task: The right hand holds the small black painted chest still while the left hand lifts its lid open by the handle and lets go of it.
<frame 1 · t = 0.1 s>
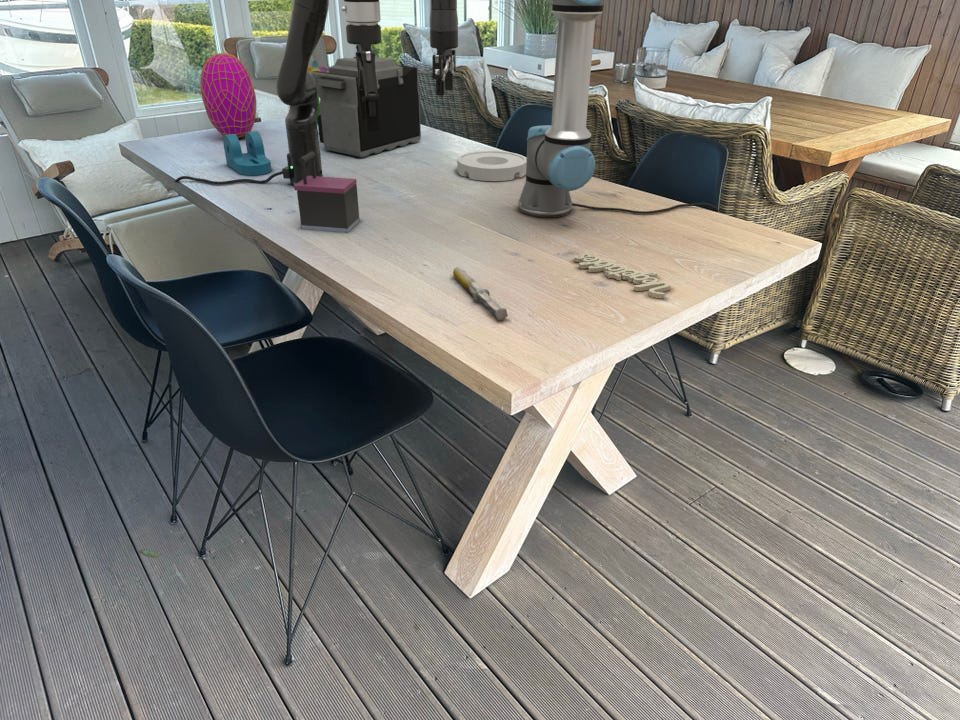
left hand: (444, 92, 191), 29 cm above the table, tool pointing down, fingers open, 8 cm apart
right hand: (370, 124, 160), 28 cm above the table, tool pointing down, fingers open, 13 cm apart
tool box: (371, 146, 258), on the table
camera mount: (251, 168, 229), on the table
decorative egg: (235, 138, 267), on the table
decorative sign: (623, 275, 156), on the table
potted flower: (321, 122, 293), on the table
yellow and grey rod: (478, 297, 145), on the table
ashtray: (491, 171, 229), on the table
chest: (331, 224, 183), on the table
lid: (324, 171, 176), point 14 cm above the table, hinge at 0.0°
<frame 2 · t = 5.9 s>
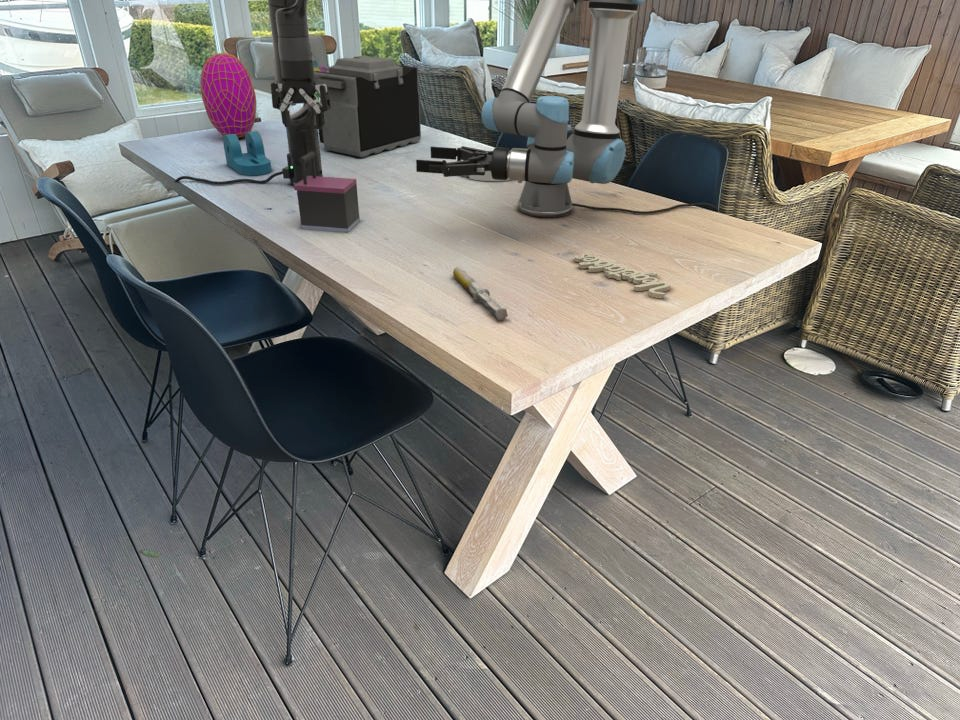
left hand: (304, 127, 171), 25 cm above the table, tool pointing down, fingers open, 8 cm apart
right hand: (423, 158, 169), 19 cm above the table, tool horizontal, fingers open, 13 cm apart
nothing on the table moved.
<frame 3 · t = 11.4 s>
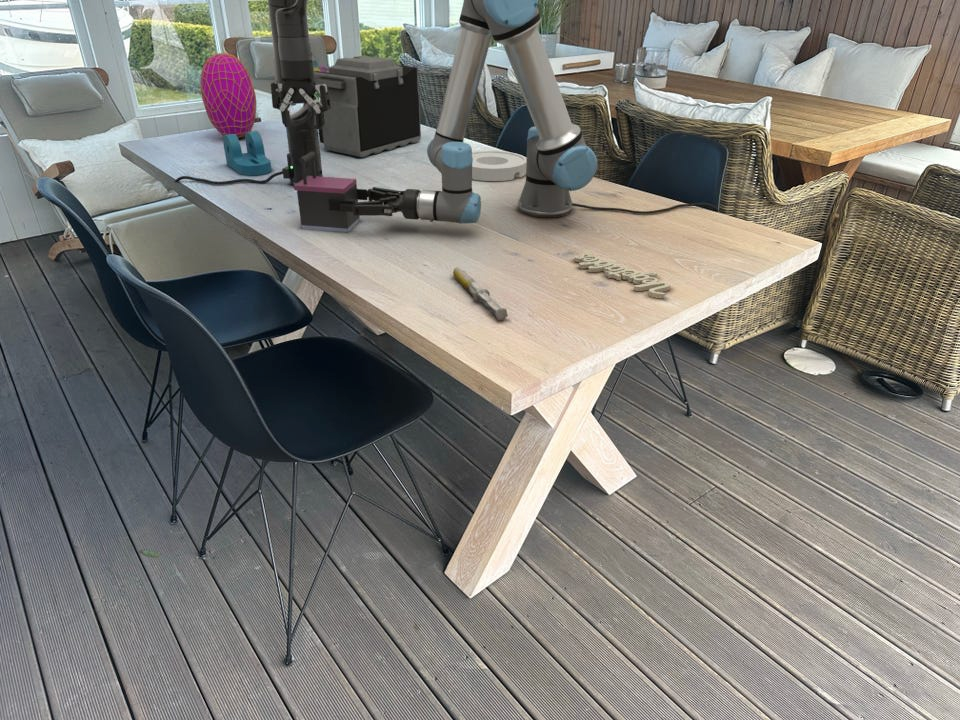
left hand: (304, 127, 171), 25 cm above the table, tool pointing down, fingers open, 8 cm apart
right hand: (336, 198, 179), 7 cm above the table, tool horizontal, fingers closed on chest, 9 cm apart
chest: (331, 224, 183), on the table, touching right hand
everything else where it was.
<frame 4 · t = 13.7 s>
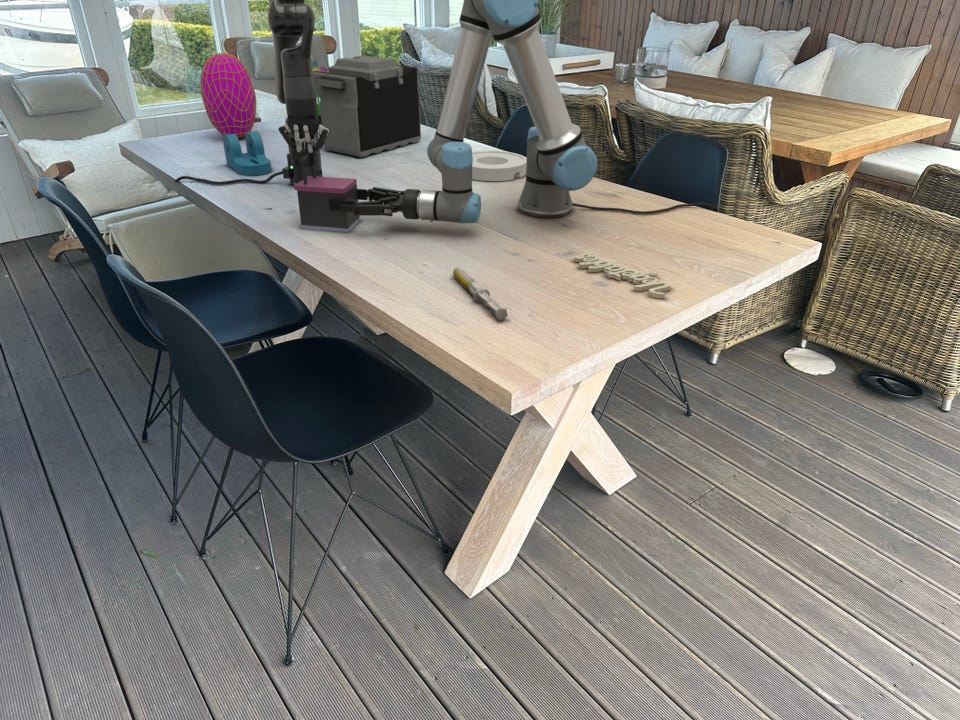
left hand: (308, 166, 176), 15 cm above the table, tool pointing down, fingers closed
right hand: (336, 198, 179), 7 cm above the table, tool horizontal, fingers closed on chest, 9 cm apart
chest: (331, 224, 183), on the table, touching right hand
lid: (324, 171, 176), point 14 cm above the table, hinge at -0.1°, touching left hand
everything else where it was.
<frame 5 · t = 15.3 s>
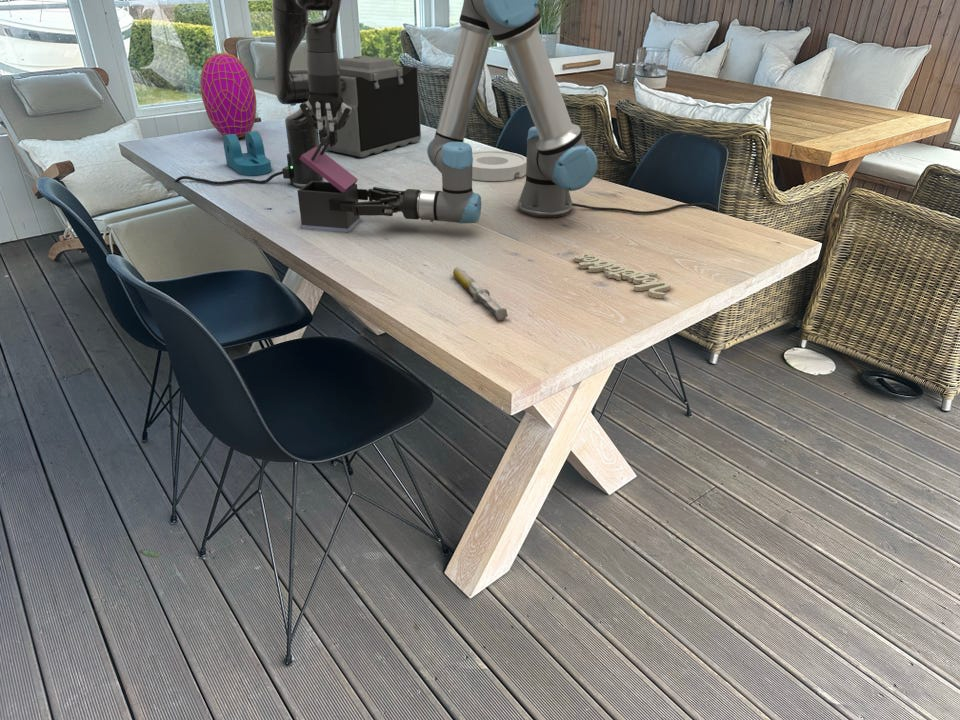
left hand: (329, 145, 172), 21 cm above the table, tool pointing down, fingers closed
right hand: (337, 198, 179), 7 cm above the table, tool horizontal, fingers closed on chest, 9 cm apart
chest: (331, 224, 183), on the table, touching right hand
lid: (335, 159, 174), point 17 cm above the table, hinge at 36.4°, touching left hand
everything else where it was.
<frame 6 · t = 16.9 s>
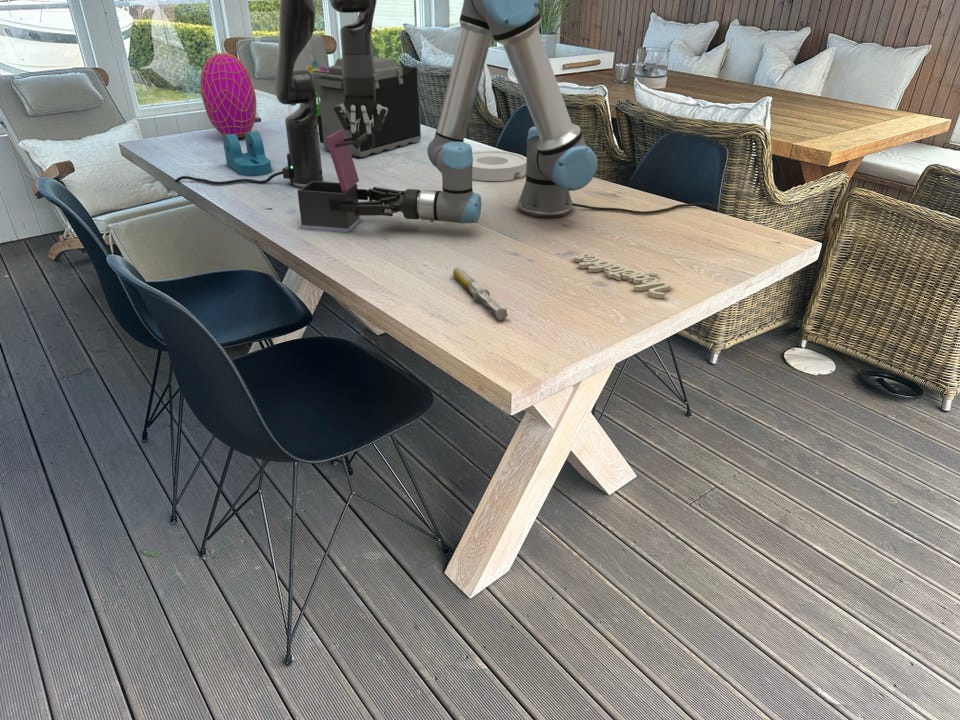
left hand: (364, 148, 171), 21 cm above the table, tool pointing down, fingers closed
right hand: (337, 198, 179), 7 cm above the table, tool horizontal, fingers closed on chest, 9 cm apart
chest: (331, 224, 183), on the table, touching right hand
lid: (355, 158, 172), point 18 cm above the table, hinge at 77.0°
everything else where it was.
when the right hand's fingers open (7 cm above the table, at t = 20.5 s): chest stays where it is, on the table.
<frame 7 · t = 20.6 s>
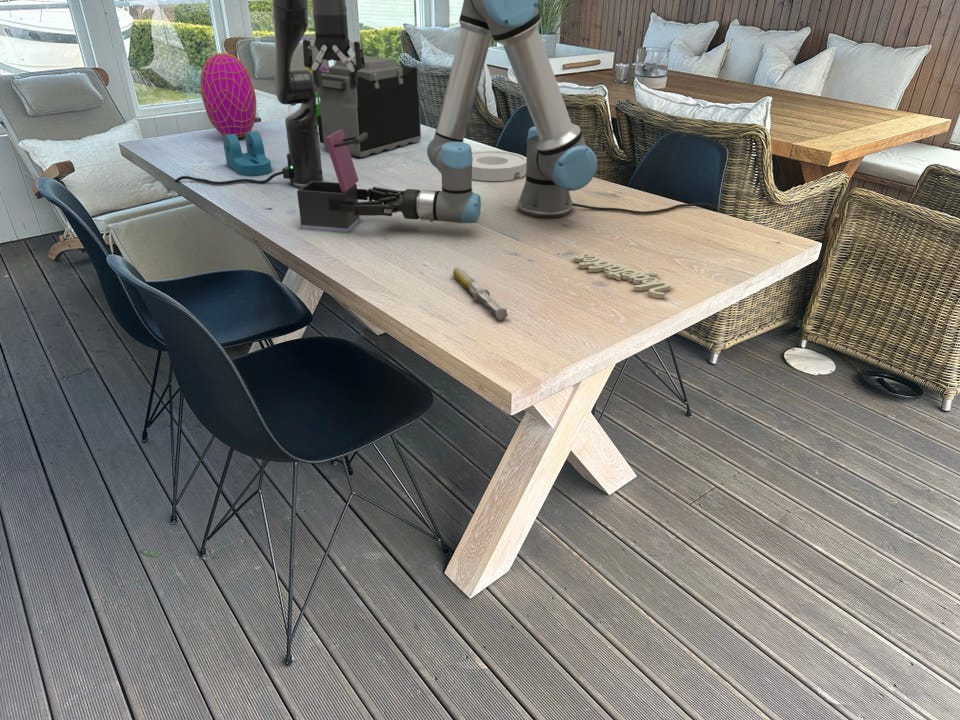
left hand: (336, 87, 165), 35 cm above the table, tool pointing down, fingers open, 8 cm apart
right hand: (336, 198, 179), 7 cm above the table, tool horizontal, fingers open, 9 cm apart
chest: (331, 224, 183), on the table
lid: (354, 157, 172), point 18 cm above the table, hinge at 76.1°
everything else where it was.
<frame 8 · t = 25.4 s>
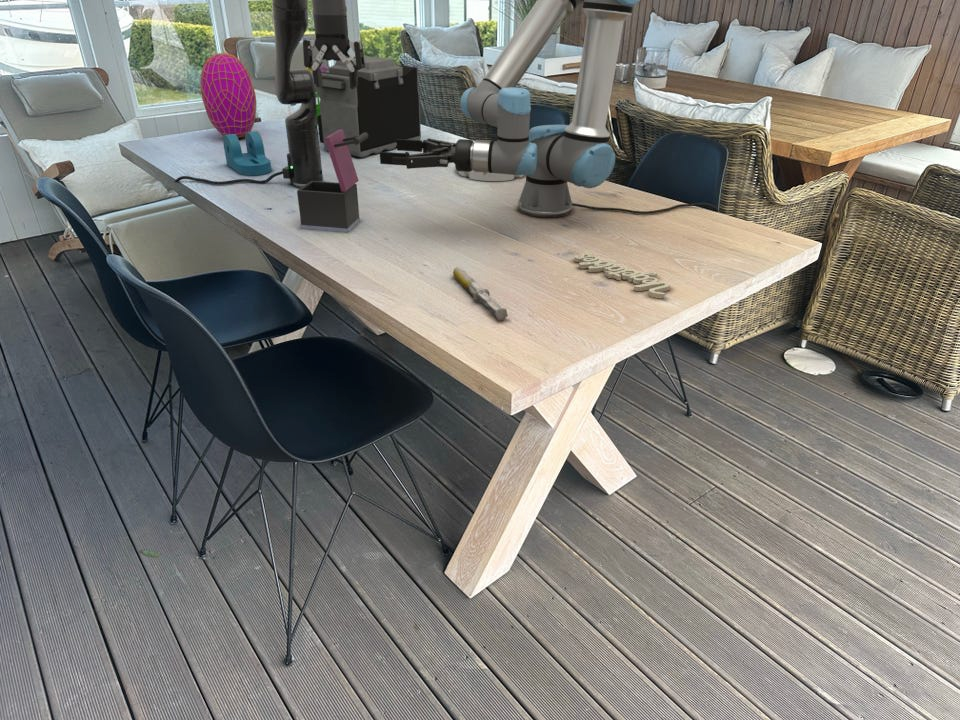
left hand: (336, 87, 165), 35 cm above the table, tool pointing down, fingers open, 8 cm apart
right hand: (388, 151, 170), 20 cm above the table, tool horizontal, fingers open, 13 cm apart
nothing on the table moved.
at the end: lid at +76° (first picture: +0°); the left hand is holding nothing; the right hand is holding nothing; chest tilted 0°; chest never tilted more than 1° during the clip; chest moved 0.1 cm from its start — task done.
